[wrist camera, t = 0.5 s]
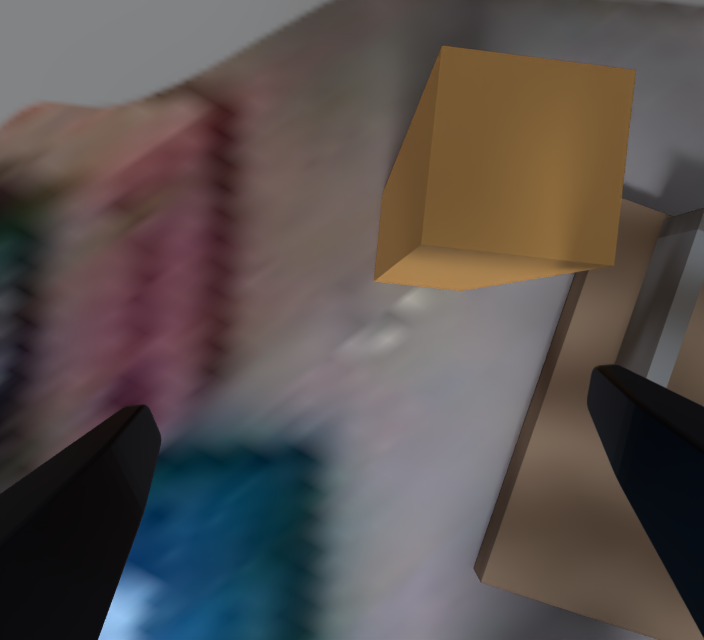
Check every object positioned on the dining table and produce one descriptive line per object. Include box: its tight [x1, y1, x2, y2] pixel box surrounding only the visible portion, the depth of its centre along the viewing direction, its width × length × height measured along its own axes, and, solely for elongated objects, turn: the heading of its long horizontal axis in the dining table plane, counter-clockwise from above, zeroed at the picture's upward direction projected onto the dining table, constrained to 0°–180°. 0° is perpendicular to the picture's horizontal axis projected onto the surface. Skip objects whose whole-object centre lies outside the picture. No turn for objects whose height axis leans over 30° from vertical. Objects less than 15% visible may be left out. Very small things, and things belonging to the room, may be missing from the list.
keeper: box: [474, 198, 704, 640], centre depth 22 cm, size 20×15×4 cm
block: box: [374, 46, 636, 291], centre depth 17 cm, size 4×4×13 cm
